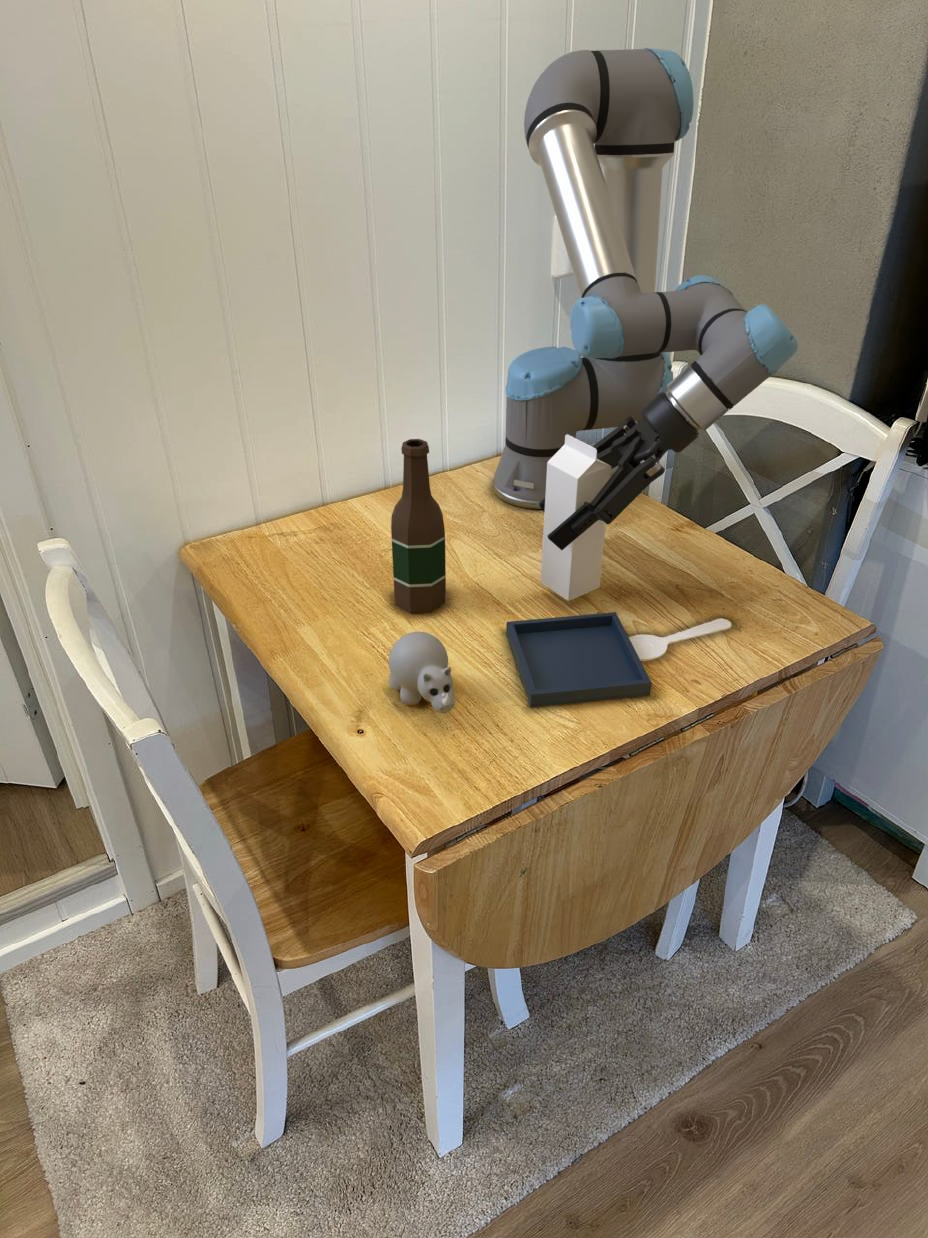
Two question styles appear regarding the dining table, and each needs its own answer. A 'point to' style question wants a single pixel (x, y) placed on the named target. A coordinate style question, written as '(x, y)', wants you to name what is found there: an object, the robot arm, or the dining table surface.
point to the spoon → (673, 639)
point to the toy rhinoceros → (421, 671)
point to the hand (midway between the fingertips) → (549, 526)
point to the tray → (576, 660)
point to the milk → (566, 491)
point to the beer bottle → (418, 537)
